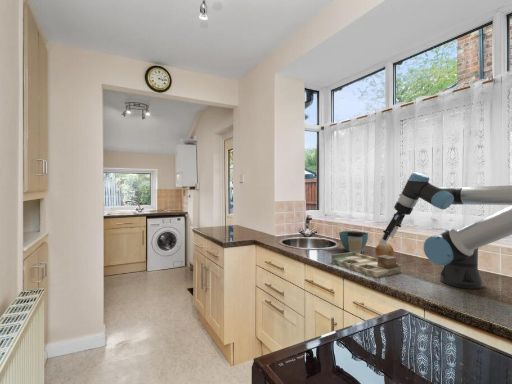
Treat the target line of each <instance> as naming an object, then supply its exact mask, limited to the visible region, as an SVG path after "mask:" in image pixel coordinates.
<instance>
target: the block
mask: <svg viewBox="0 0 512 384" xmlns="http://www.w3.org/2000/svg"><path fill="white" fill-rule="evenodd" d="M377 258H378V266H379V267H382V268H386V269H391V268H396V263H397V257H395V256H393V257H392V256H388V255H382V256H377Z"/></svg>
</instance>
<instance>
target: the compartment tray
mask: <svg viewBox="0 0 512 384" xmlns="http://www.w3.org/2000/svg"><path fill="white" fill-rule="evenodd" d="M331 264H334V265H336V266H340V267H343V268H345V269H349V270H351V271H354V272H358V273H361V274H364V275H367V276H369V277H373V278H375V279H378V278H382V277H386V276H392V275H396V274H400V273H401V270H402V268H401V267H402V266H401V263H397V262H396V268H391V269H386V268H382V267H379V266H378V257H373V256H370V255H367V254H362V253H361V254H359V253H356V252H348V251H347V252H342V253H337V254H331Z"/></svg>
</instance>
